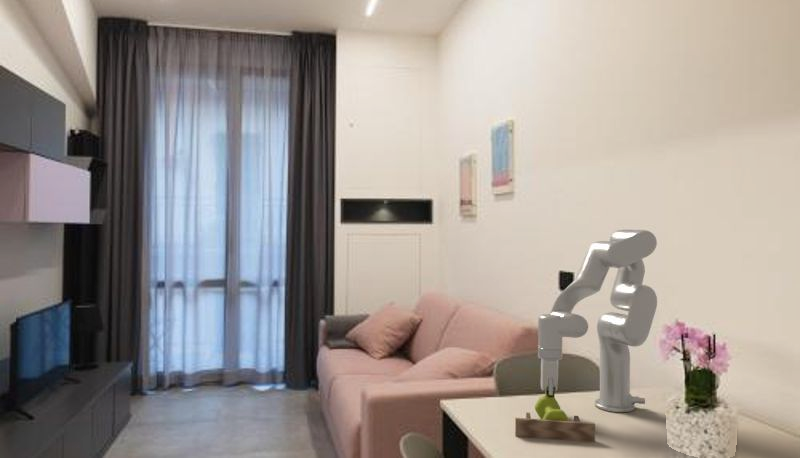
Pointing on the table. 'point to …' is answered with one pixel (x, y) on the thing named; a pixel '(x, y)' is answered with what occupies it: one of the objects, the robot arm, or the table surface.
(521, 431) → the walnut bay
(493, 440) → the table surface
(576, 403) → the table surface
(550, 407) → the dumbbell
